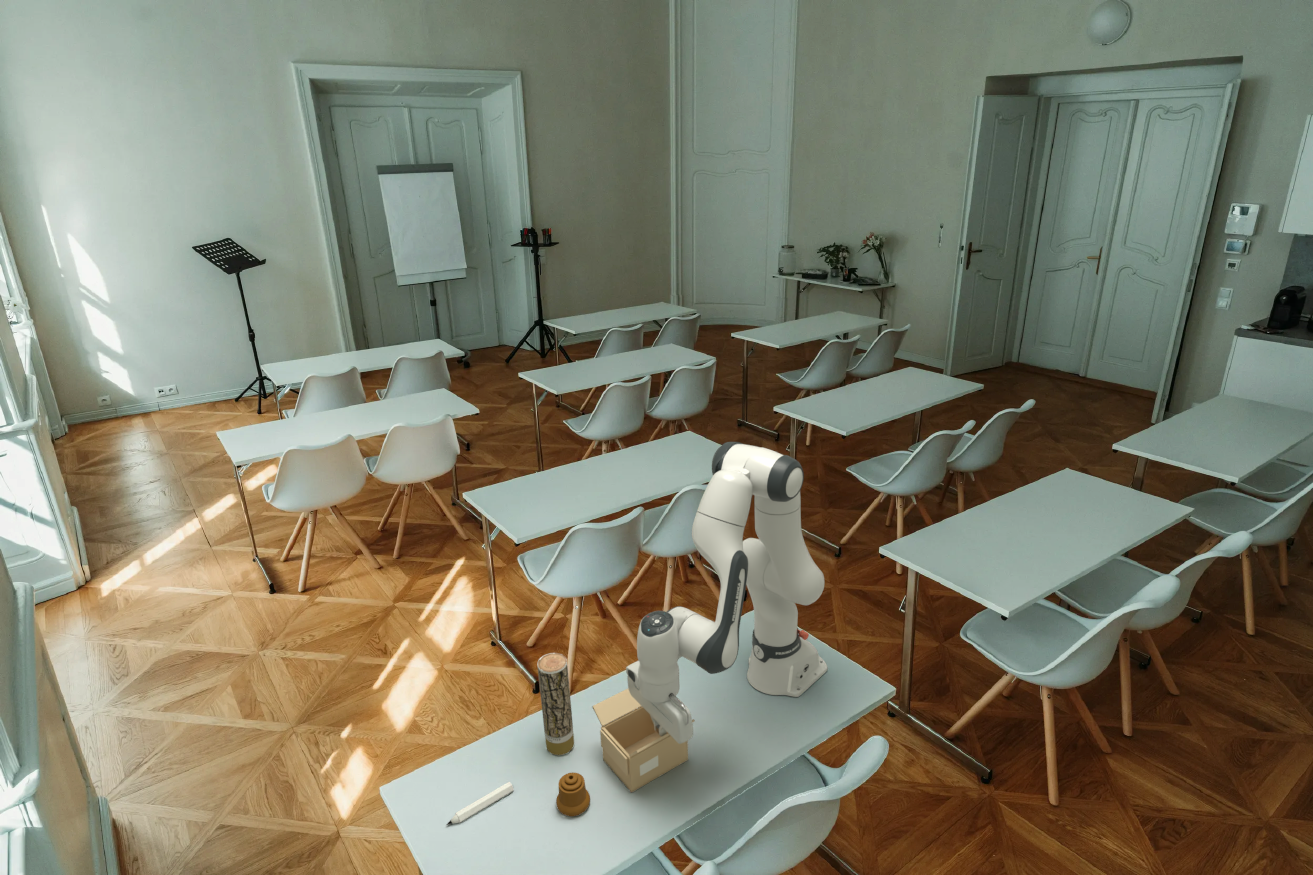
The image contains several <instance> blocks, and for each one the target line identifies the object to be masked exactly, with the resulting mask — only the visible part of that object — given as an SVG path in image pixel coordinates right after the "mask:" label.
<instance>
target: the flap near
mask: <svg viewBox="0 0 1313 875" xmlns="http://www.w3.org/2000/svg"><path fill="white" fill-rule="evenodd" d="M694 722H696V721H695V719H694V718H693V719H692V723H694ZM669 735H670V734H669V733H668V734H666V735H664V736H662V737H660V738H658V739H657V740H655V741H653V742H651V743H649V744H648V745H646V746H644V747H642V748H640V749H638V750H637V751H635V752H633V753H632V754H630V755H629V756H630V757H631V756H633V755H635V754H637V753H639V752H640V751H642V750H644V749H646V748H648V747H650V746H651V745H653V744H655V743H657V742H659V741H660V740H662V739H664V738H666V737H668V736H669Z"/></svg>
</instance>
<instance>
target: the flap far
mask: <svg viewBox="0 0 1313 875" xmlns="http://www.w3.org/2000/svg"><path fill="white" fill-rule="evenodd" d="M639 707H641V705H640V704H639V703H638V702H637V701H636V700H635V699H634V698H633V697H632V696H631V694H630V692H629V689H628V688H626V689H624V690H622V691H620V692H618V693H615V694H614V695H612V696H609V697H608V698H606V699H604V700H602V701H600V702H598V703H595V704H594V705H592V706H591V708H592V709H593V711H594V713H595V715H596V717H597V719H598V721H599V723H600V726H601V727H602V726H604V725H606V724H608V723H610V722H612V721H614V720H616V719H618V718H619V717H621V716H623V715H625V714H627V713H629V712H631V711H633V710H635V709H637V708H639Z"/></svg>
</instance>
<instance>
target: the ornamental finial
mask: <svg viewBox="0 0 1313 875" xmlns="http://www.w3.org/2000/svg"><path fill="white" fill-rule="evenodd" d="M590 803H591V795H590V793H589V791H588V790H587V788H586V782H585V778H584V776H583V775H582V774H580V773H579V772H572V771H571V772H568V773H565V774H564V775H562V776H561V777H560V778H559V780H558V794H557V795H556V800H555V804H556V808H557V810H558V812H560V813H561V814H562V815H564V816H566V817H577V816H581V815H582V814H584V813H585V812H586V811H587V810H588V808H589V806H590Z"/></svg>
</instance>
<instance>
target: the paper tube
mask: <svg viewBox="0 0 1313 875" xmlns="http://www.w3.org/2000/svg"><path fill="white" fill-rule="evenodd" d="M536 664H537V674H538V682H539V683H538V684H539V692H540V701H541V702H540V703H541V704H540V705H541V712H542V721H543V729H544V739H545V747H546V750H547V751H548V752H549V753H550V754H552V755H553V756H563V755H566V754H568V753H570V752H571V751H572V750H573V748H574V746H575V734H574V725H573V711H572V703H571V702H572V701H571V691H570V688H571V687H570V678H569V668H568V667H569V666H568V660H567V657H566V656H565V655H564V654H562V653H558V652H550V653H546V654H544V655H542V656H541V657H539V658H538V661H537V663H536Z"/></svg>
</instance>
